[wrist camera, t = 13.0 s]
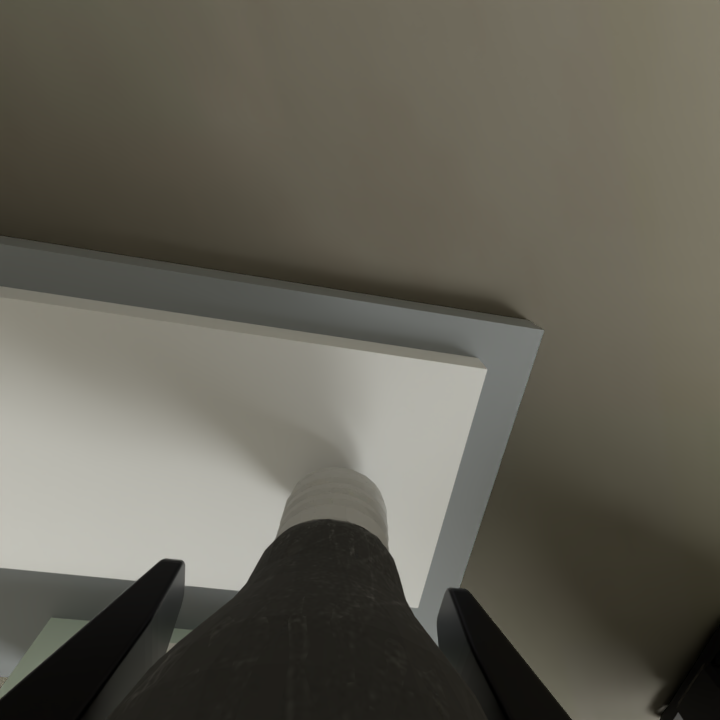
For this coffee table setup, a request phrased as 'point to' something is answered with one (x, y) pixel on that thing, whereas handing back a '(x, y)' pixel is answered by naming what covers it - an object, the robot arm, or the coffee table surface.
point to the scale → (226, 429)
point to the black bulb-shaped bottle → (311, 629)
